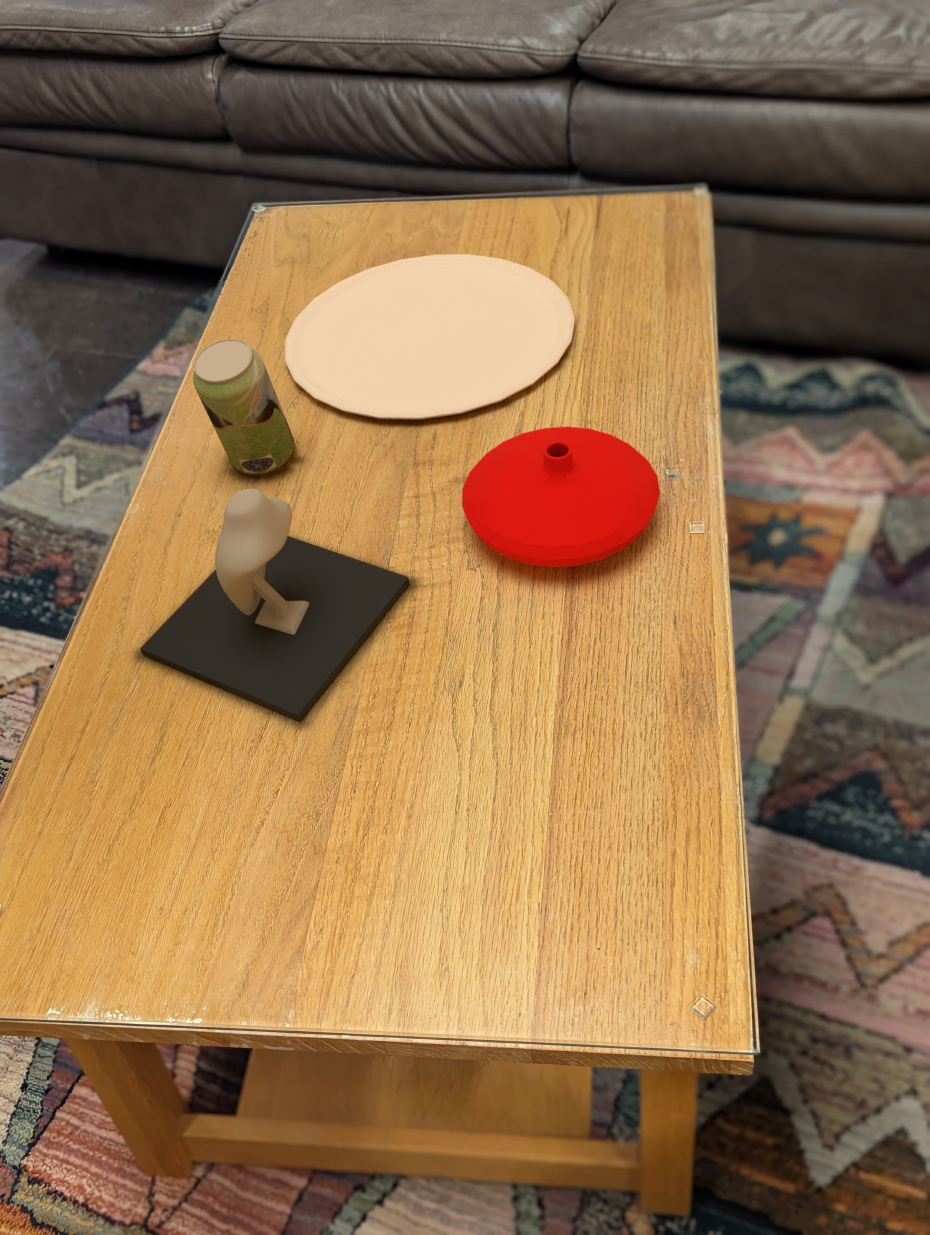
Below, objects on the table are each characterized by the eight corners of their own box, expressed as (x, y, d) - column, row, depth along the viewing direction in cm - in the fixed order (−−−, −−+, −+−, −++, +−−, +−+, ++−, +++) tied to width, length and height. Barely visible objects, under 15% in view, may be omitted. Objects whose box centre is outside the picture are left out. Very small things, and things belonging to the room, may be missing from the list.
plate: (570, 253, 117) (569, 242, 116) (581, 416, 97) (581, 405, 96) (306, 273, 119) (303, 263, 119) (264, 436, 100) (261, 425, 99)
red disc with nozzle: (479, 455, 95) (472, 388, 90) (662, 458, 92) (665, 389, 87) (450, 583, 84) (440, 515, 79) (655, 591, 81) (658, 522, 76)
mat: (300, 722, 76) (297, 715, 76) (142, 655, 82) (139, 648, 82) (410, 583, 85) (408, 576, 84) (259, 532, 91) (257, 525, 90)
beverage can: (303, 437, 99) (273, 323, 90) (286, 490, 94) (252, 374, 85) (238, 438, 100) (201, 325, 91) (217, 490, 95) (177, 376, 86)
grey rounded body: (263, 577, 86) (223, 459, 77) (325, 584, 84) (291, 465, 76) (226, 647, 81) (178, 529, 72) (291, 656, 80) (251, 537, 71)
